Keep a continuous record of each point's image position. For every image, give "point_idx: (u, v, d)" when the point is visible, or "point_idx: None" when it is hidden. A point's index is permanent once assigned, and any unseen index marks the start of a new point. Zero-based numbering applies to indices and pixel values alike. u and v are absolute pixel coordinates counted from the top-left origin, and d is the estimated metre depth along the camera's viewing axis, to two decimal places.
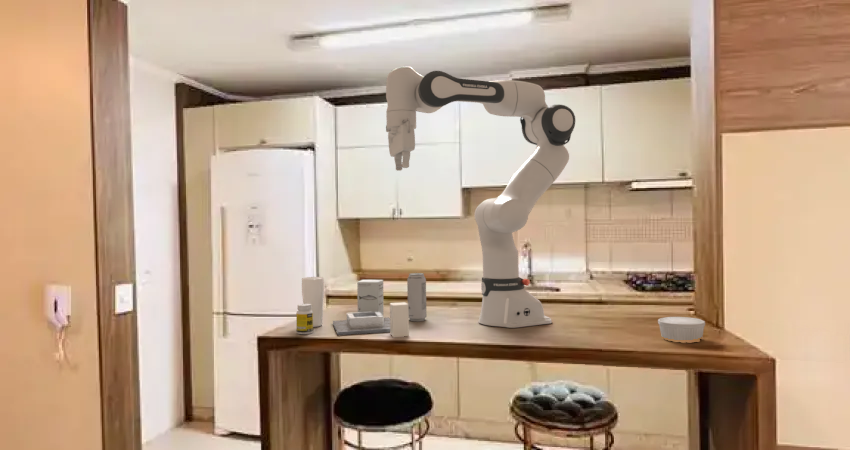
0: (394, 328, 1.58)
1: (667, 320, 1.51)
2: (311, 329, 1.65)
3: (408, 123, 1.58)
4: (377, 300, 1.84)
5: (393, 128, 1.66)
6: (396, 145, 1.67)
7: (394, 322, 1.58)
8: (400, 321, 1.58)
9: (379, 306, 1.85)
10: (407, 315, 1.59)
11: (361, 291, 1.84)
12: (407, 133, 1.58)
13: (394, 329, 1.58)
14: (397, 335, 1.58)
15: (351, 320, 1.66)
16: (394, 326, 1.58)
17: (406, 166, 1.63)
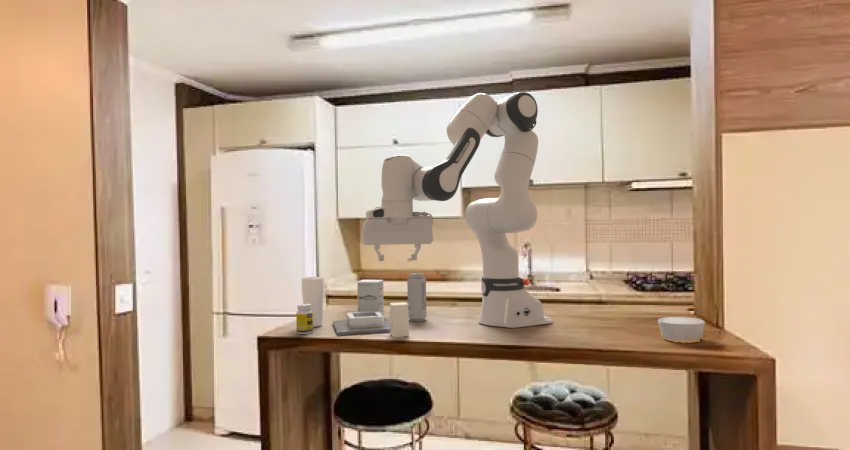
0: (394, 328, 1.58)
1: (667, 320, 1.51)
2: (311, 329, 1.65)
3: (432, 218, 1.62)
4: (377, 300, 1.84)
5: (404, 219, 1.57)
6: (401, 236, 1.58)
7: (394, 322, 1.58)
8: (400, 321, 1.58)
9: (379, 306, 1.85)
10: (407, 315, 1.59)
11: (361, 291, 1.84)
12: None
13: (394, 329, 1.58)
14: (397, 335, 1.58)
15: (351, 320, 1.66)
16: (394, 326, 1.58)
17: None
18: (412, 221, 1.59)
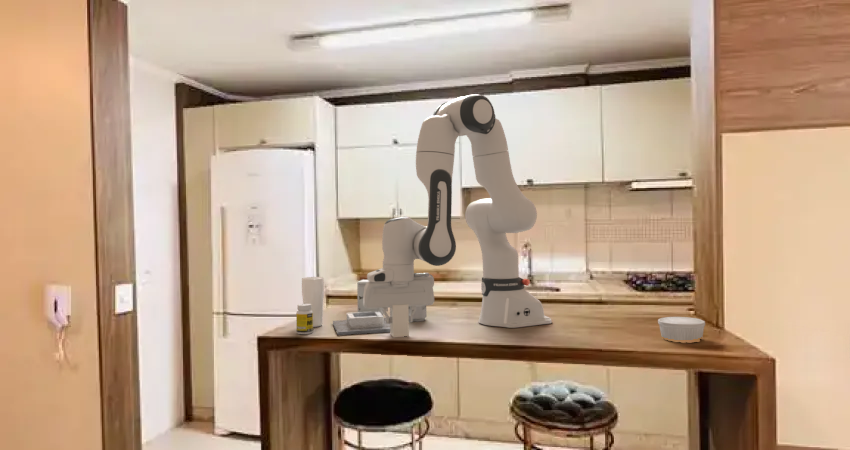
0: (394, 328, 1.58)
1: (667, 320, 1.51)
2: (311, 329, 1.65)
3: (433, 279, 1.62)
4: None
5: (405, 281, 1.58)
6: (403, 299, 1.59)
7: (394, 322, 1.58)
8: (400, 321, 1.58)
9: None
10: (407, 315, 1.59)
11: (361, 291, 1.84)
12: None
13: (394, 329, 1.58)
14: (397, 335, 1.58)
15: (351, 320, 1.66)
16: (394, 326, 1.58)
17: None
18: (413, 283, 1.59)
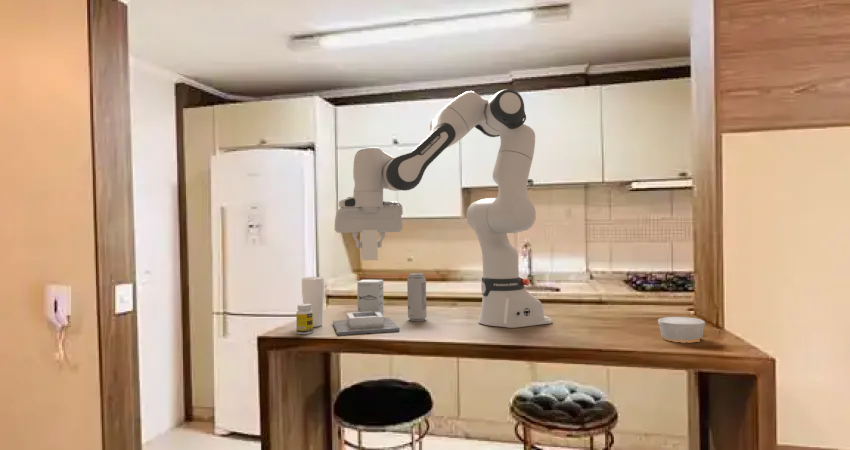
0: (363, 251, 1.67)
1: (667, 320, 1.51)
2: (311, 329, 1.65)
3: (401, 207, 1.72)
4: (377, 300, 1.84)
5: (375, 208, 1.67)
6: (372, 224, 1.68)
7: (364, 246, 1.67)
8: (369, 245, 1.67)
9: (379, 306, 1.85)
10: (376, 240, 1.68)
11: (361, 291, 1.84)
12: None
13: (363, 252, 1.67)
14: (366, 258, 1.67)
15: (351, 320, 1.66)
16: (363, 250, 1.67)
17: (380, 246, 1.70)
18: (382, 210, 1.68)
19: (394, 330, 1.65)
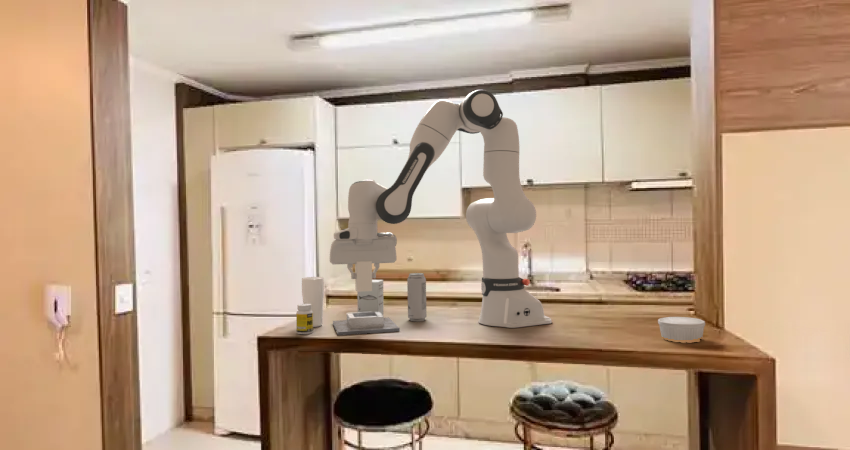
0: (358, 283, 1.69)
1: (667, 320, 1.51)
2: (311, 329, 1.65)
3: (396, 238, 1.74)
4: (377, 300, 1.84)
5: (369, 240, 1.69)
6: (366, 256, 1.70)
7: (358, 277, 1.69)
8: (364, 276, 1.70)
9: (379, 306, 1.85)
10: (370, 271, 1.70)
11: None
12: (394, 247, 1.74)
13: (358, 284, 1.69)
14: (361, 290, 1.69)
15: (351, 320, 1.66)
16: (358, 281, 1.69)
17: None
18: (377, 242, 1.71)
19: (394, 330, 1.65)
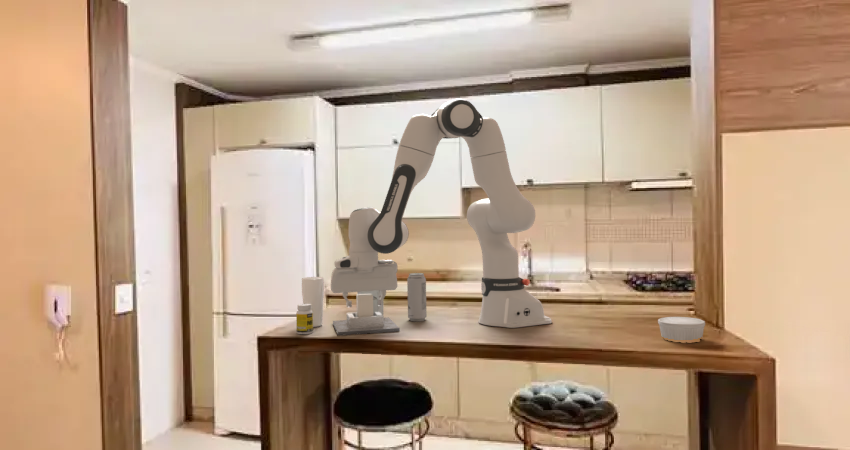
0: None
1: (667, 320, 1.51)
2: (311, 329, 1.65)
3: (396, 265, 1.74)
4: None
5: (370, 268, 1.69)
6: (367, 284, 1.70)
7: (359, 312, 1.69)
8: (365, 311, 1.70)
9: (379, 306, 1.85)
10: (372, 305, 1.70)
11: None
12: None
13: None
14: None
15: (351, 320, 1.66)
16: (359, 315, 1.69)
17: None
18: (377, 269, 1.71)
19: (394, 330, 1.65)
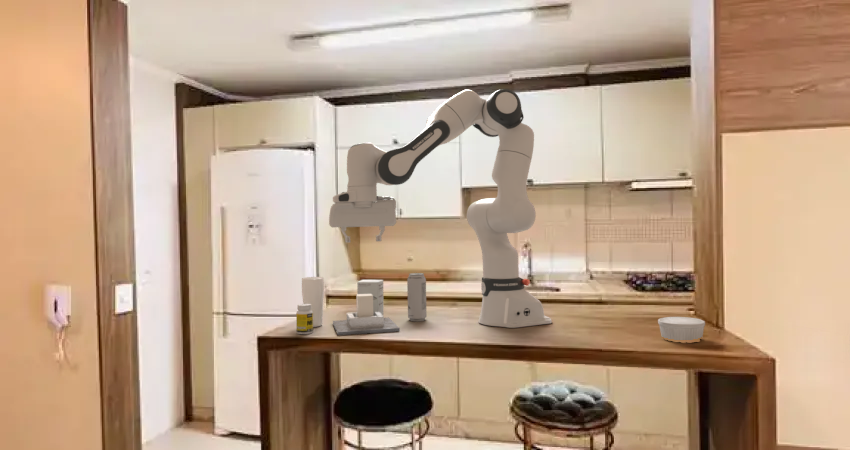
0: None
1: (667, 320, 1.51)
2: (311, 329, 1.65)
3: (395, 202, 1.74)
4: (377, 300, 1.84)
5: (368, 202, 1.69)
6: (366, 219, 1.70)
7: (359, 312, 1.69)
8: (365, 311, 1.70)
9: (379, 306, 1.85)
10: (372, 305, 1.70)
11: (361, 291, 1.84)
12: None
13: None
14: None
15: (351, 320, 1.66)
16: (359, 315, 1.69)
17: (380, 240, 1.73)
18: (376, 205, 1.71)
19: (394, 330, 1.65)
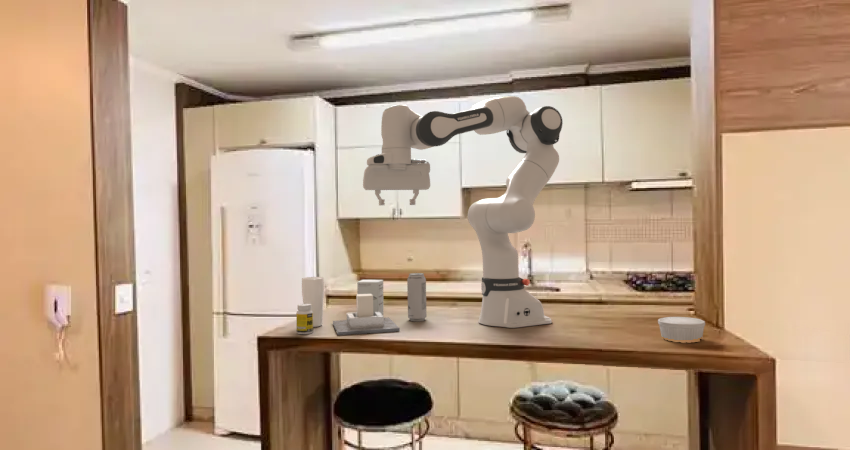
0: None
1: (667, 320, 1.51)
2: (311, 329, 1.65)
3: (429, 165, 1.72)
4: (377, 300, 1.84)
5: (403, 165, 1.67)
6: (400, 181, 1.68)
7: (359, 312, 1.69)
8: (365, 311, 1.70)
9: (379, 306, 1.85)
10: (372, 305, 1.70)
11: (361, 291, 1.84)
12: None
13: None
14: None
15: (351, 320, 1.66)
16: (359, 315, 1.69)
17: (414, 203, 1.71)
18: (410, 167, 1.69)
19: (394, 330, 1.65)
